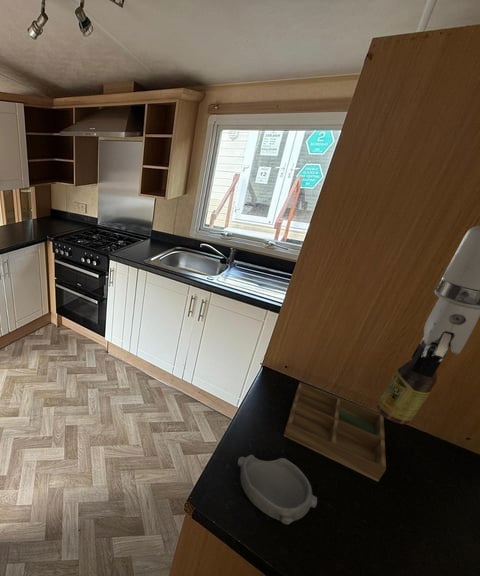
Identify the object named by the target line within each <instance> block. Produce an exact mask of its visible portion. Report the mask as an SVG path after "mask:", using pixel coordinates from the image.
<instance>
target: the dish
mask: <svg viewBox="0 0 480 576" xmlns="http://www.w3.org/2000/svg"><path fill="white" fill-rule="evenodd" d="M237 459H238V460H237V466H238V467H240V473H239V474H240V478H239V479H240V483H241V487H242V489H243V492H244V493H245V495H246V497H247V498H248V500H249V501H250V502H251V503H252V504H253V505H254V506H255V507H256V508H257V509H259V510H260V511H261V512H262V513H264V514H265V515H267V516H269V517H270V518H272V519H274V520H277V521H280V522H281V523H282V524H284V525H291V523H294V522H296V521H298V520H301V519H302V518H303V517H305V516H306V515H307V514H308V512H309V511H310V508H313V509H315V508H316V507H317V504H318V497H317V496H316V495H313V489H312V485H311V483H310V481H309V479H308V478H307V476H306V475H305V473H303V471H302V470H301V469H300V468H299V466H297V465H296V464H294V463H293V462H291V461H290V460H288V459H287V458H285V457H280V458H278V459H277V458H276V459H275V460H262V459H258V458H257V457H255V455H254V454H249V455H247V456H246V457H244V456H240V457H238V458H237Z"/></svg>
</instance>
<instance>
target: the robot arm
mask: <svg viewBox="0 0 480 576" xmlns="http://www.w3.org/2000/svg"><path fill="white" fill-rule="evenodd" d="M433 293H434V295H435V296H437V297H438V299H437V301H436V303H435V305H434V306H433V308H432V310H431V311H430V313H429V315H428V317H427V319H426V321H425V323H424V325H423V326H424V327H423V337H422V338H421V341H420V343H418V345H417V346H416V348H415V350H414V351H413V354H412V355H411V359H412V358H413V357H414V356H415V354H416V352H417V351H418V347H419V345H420V344H421V343H425V344H426V347H425V349H424V351H423V353H422V355H419V356H418V358H417V359H416V361H415V363H414V365H413V366H412V368H411V370H412V371H413V372H416V373H418V374H421V375H424V376H427V377H432V376H433V375H434V373H435V372H436V373H437V370H438V368H439V367H440V365H441V363H442V361H443V360H444V359H445V358H444V356H445V354H446V352H447V353H448V350H449V348H450V352H451V353H453V355H459V354H461V352H462V351H463V349H464V347H465V345H466V343H467V341H468V339H470V336H471V335H472V332H473V331H474V329H475V328H476V325H477V323H478V321H479V319H480V225H475V226H473V227H471V228H469V229H468V230H467V232H466V233H465V235H463V238H462V240H461V241H460V244H459V246H458V247H457V249H456V251H455V253H454V255H453V257H452V259H451V260H450V262H449V264H448V266H447V267H446V270H445V271H444V273H443V275H442V277H441V278H440V281H439V283H438V284H437V285H436V288H435V290H434V291H433ZM433 344H435V345H433ZM430 348H433V349H435V350H434V351H430V352H429V350H430ZM446 355H447V354H446ZM445 357H446V356H445Z"/></svg>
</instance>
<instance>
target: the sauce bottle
mask: <svg viewBox="0 0 480 576" xmlns="http://www.w3.org/2000/svg"><path fill="white" fill-rule="evenodd" d="M419 344H420V345H419ZM419 344H418V345H419V347H418V351H417V352H416V354H415V356H414V357H413V358H412V357H411V359H410V360H409V361H407V362H406V363H404V364H403V365H401V366H399V367H398V368H397V369H396V371H395V373H394V374H393V376H392V378H391V379H390V381H389V383H388V385H387V387H386V388H385V390H384V392H383V394H382V395H381V397H380V399H379V401H378V404H377V407H376V408H377V411H378V413H380V414H382V416H384V418H385V419H387V420H389V421H391V422H393V423H396V424H400V425H408V424H409V423H410V422H411V421H412V420H414V417H415V416H416V415H417V413H418V412H419V410H420V409H421V407H422V405H423V404H424V403H425V401H426V400H427V399H428V397H429V395H430V394H431V393H432V390H433V388H434V386H435V385H436V384H437V382H438V374H437V371H436V372H435V373H434V375H433V376H432V377H427V376H424V375H421V374H418V373H416V372H413V371H412V370H411V368H412V366H413V365H414V363H415V361H416V359H417V358H418V356H419V355H422V353H423V351H424V349H425V347H426V344H425V343H421V342H420V343H419ZM433 345H435V344H433ZM434 350H435V349H433V348H430V350H429V352H430V351H434ZM447 355H448V351H447V352H446V354H445V356H444V358H443V359H445V358H446V356H447Z"/></svg>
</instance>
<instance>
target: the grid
mask: <svg viewBox="0 0 480 576" xmlns="http://www.w3.org/2000/svg"><path fill="white" fill-rule="evenodd" d="M294 397H295V398H293V401H292V404H291V408H290V411H289V412H290V413H289V416H288V419H287V422H286V425H285V429H284V432H283V437H285V438H286V439H289V440H291V441H293V442H296V443H297V444H300V445H301V446H304V447H305V448H308V449H309V450H311V451H314V452H316V453H318V454H320V455H322V456H324V457H326V458H328V459H330V460H332V461H334V462H337V463H339V464H340V465H342V466H345V467H346V468H349V469H351V470H353V471H354V472H357V473H359V474H361V475H364V476H365V477H367V478H370V479H371V480H373V481H376V482H379V481H380V480H381V478H382V477H383V476H384V474H385V472H386V470H387V462H386V458H387V457H386V441H385V440H386V439H385V438H386V437H385V419H384V418H385V417H384V416H382V414H381V413H380V412H379V411H378V412H377V411H376V410H372V409H370V408H368V407H365V406H362V405H360V404H357V403H355V402H352V401H350V400H347V399H344V398H342V397H339V396H337V395H334V394H331V393H330V392H327V391H324V390H322V389H319V388H316V387H314V386H312V385H308V384H306V383H304V382H301V381H300V382H299V384H298V386H297V389H296V391H295V395H294Z"/></svg>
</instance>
